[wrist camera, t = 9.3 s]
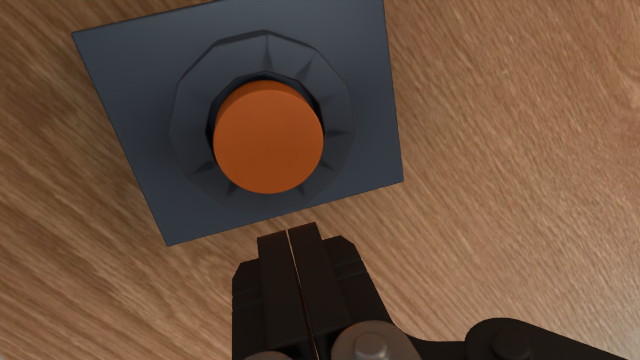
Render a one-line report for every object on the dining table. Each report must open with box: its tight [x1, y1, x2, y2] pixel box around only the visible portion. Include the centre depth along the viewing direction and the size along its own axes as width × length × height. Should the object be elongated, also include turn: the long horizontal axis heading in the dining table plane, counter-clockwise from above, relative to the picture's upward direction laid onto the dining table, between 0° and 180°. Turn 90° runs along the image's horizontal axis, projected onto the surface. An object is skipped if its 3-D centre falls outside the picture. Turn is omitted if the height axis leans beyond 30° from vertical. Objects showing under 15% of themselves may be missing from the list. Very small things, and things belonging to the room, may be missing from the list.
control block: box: [71, 0, 404, 246], centre depth 16 cm, size 11×9×4 cm
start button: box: [213, 80, 323, 194], centre depth 14 cm, size 4×4×2 cm
